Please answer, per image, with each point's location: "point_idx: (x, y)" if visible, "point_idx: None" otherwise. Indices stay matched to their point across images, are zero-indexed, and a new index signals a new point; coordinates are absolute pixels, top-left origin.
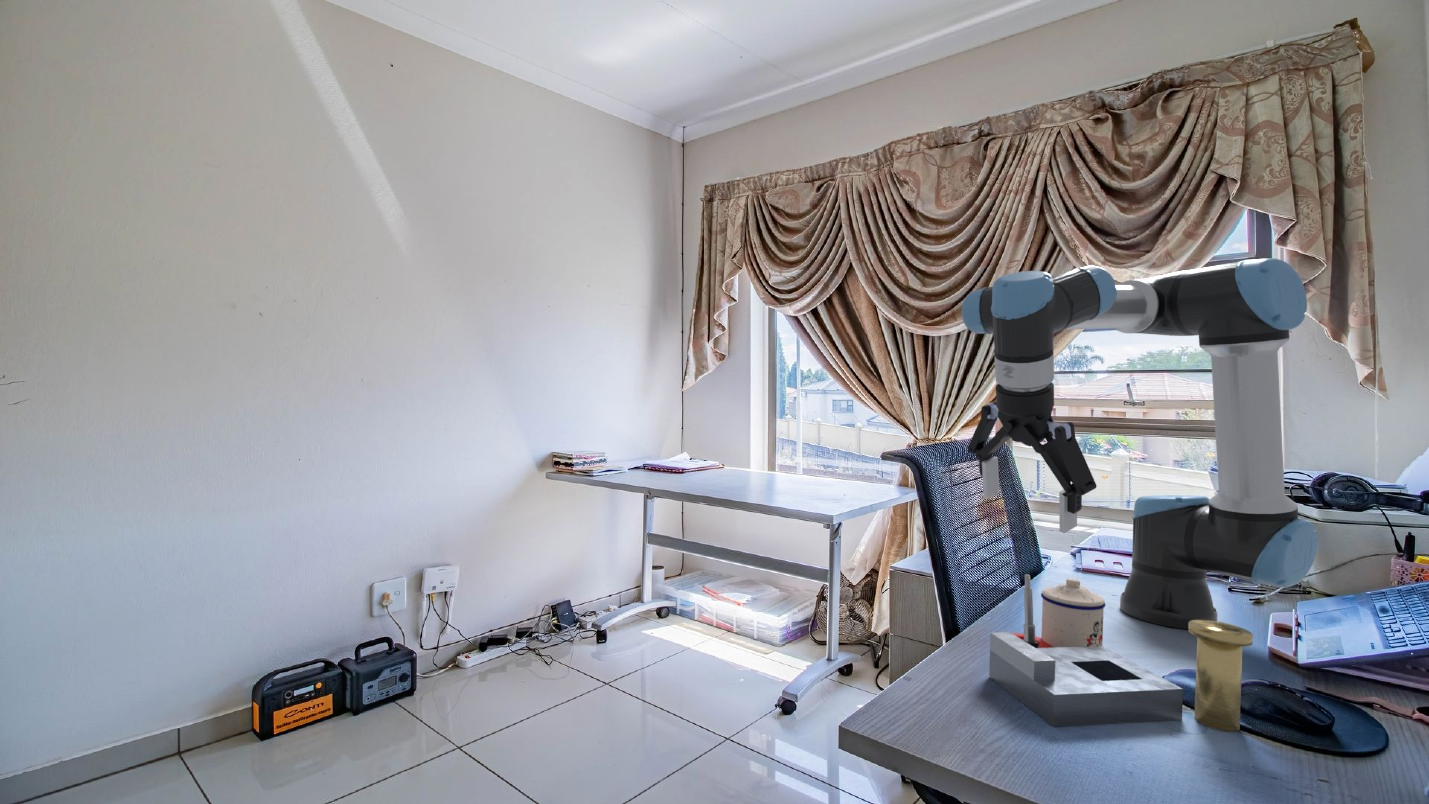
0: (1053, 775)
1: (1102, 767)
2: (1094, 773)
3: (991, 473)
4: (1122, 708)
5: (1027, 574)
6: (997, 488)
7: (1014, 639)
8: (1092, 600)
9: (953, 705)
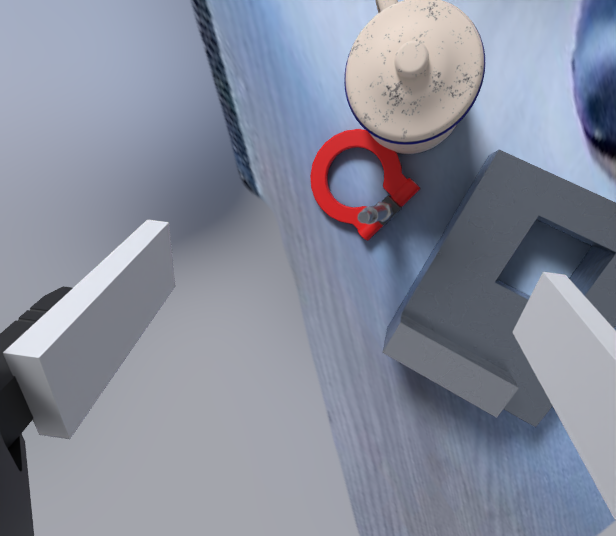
0: (574, 510)
1: None
2: None
3: (112, 340)
4: None
5: (361, 212)
6: (157, 244)
7: (425, 351)
8: (468, 81)
9: (407, 441)
